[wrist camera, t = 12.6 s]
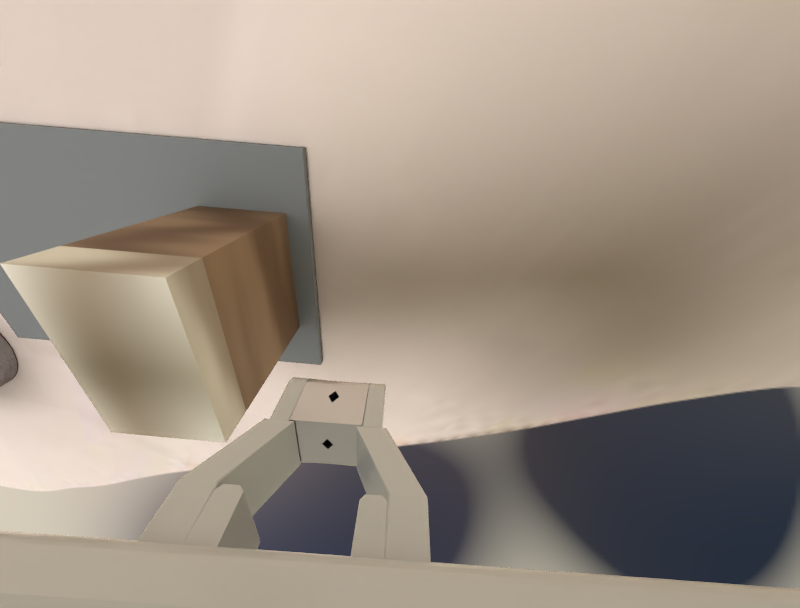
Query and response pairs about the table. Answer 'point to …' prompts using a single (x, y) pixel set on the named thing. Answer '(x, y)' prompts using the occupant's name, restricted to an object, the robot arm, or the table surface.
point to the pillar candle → (6, 362)
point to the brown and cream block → (169, 316)
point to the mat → (145, 200)
